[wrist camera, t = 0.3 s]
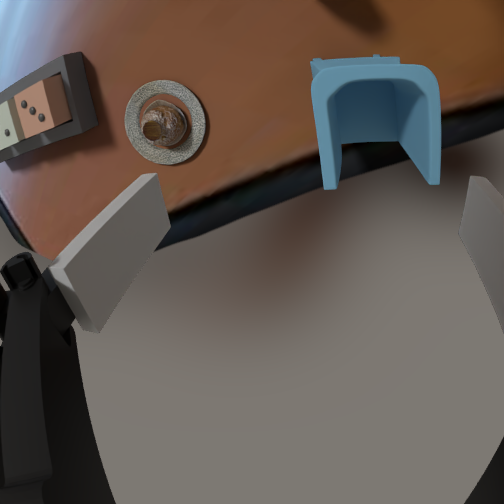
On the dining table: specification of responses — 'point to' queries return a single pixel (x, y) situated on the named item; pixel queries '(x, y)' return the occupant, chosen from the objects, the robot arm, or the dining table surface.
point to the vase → (376, 110)
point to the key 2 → (10, 124)
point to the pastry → (164, 123)
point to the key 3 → (43, 106)
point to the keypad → (76, 96)
